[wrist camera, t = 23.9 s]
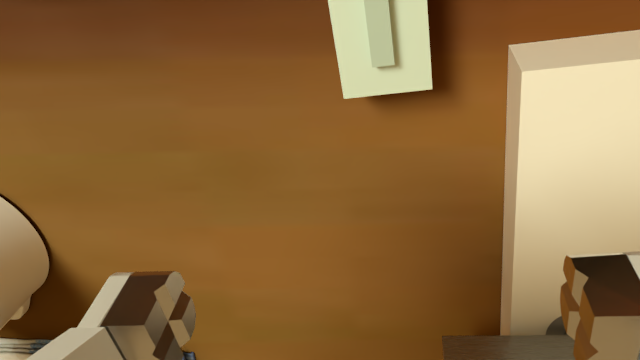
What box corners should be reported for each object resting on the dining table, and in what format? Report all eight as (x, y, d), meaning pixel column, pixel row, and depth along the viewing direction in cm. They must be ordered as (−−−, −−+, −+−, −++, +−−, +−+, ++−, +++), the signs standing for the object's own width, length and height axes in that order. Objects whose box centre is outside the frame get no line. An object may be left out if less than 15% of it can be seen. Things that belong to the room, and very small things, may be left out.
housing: (499, 357, 47) (507, 399, 43) (508, 45, 31) (522, 72, 28) (621, 357, 45) (639, 400, 41) (697, 23, 29) (736, 49, 26)
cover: (349, 71, 33) (342, 105, 29) (325, -84, 28) (314, -68, 24) (429, 62, 32) (433, 95, 28) (418, -100, 27) (422, -87, 23)
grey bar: (734, 351, 37) (764, 398, 34) (442, 351, 40) (446, 394, 37) (746, 322, 35) (779, 369, 32) (441, 325, 39) (445, 368, 36)
